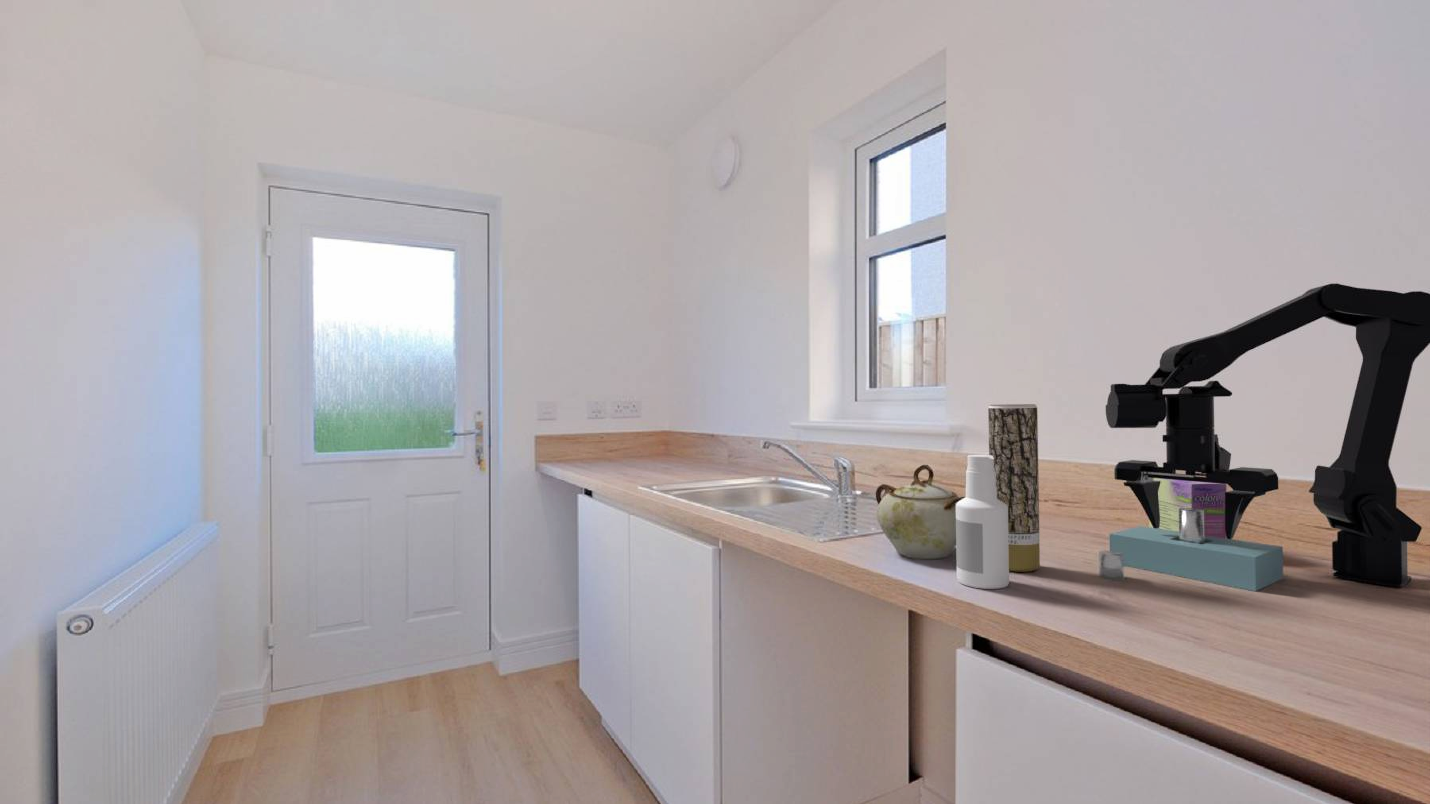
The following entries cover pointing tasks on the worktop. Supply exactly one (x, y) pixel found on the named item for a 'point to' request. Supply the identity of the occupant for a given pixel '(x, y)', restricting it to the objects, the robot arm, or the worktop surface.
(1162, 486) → the box
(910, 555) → the sugar bowl
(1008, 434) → the paper tube
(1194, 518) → the tall steel pin
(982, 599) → the worktop surface
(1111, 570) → the short steel pin
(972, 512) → the spray bottle
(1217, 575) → the hole beam
